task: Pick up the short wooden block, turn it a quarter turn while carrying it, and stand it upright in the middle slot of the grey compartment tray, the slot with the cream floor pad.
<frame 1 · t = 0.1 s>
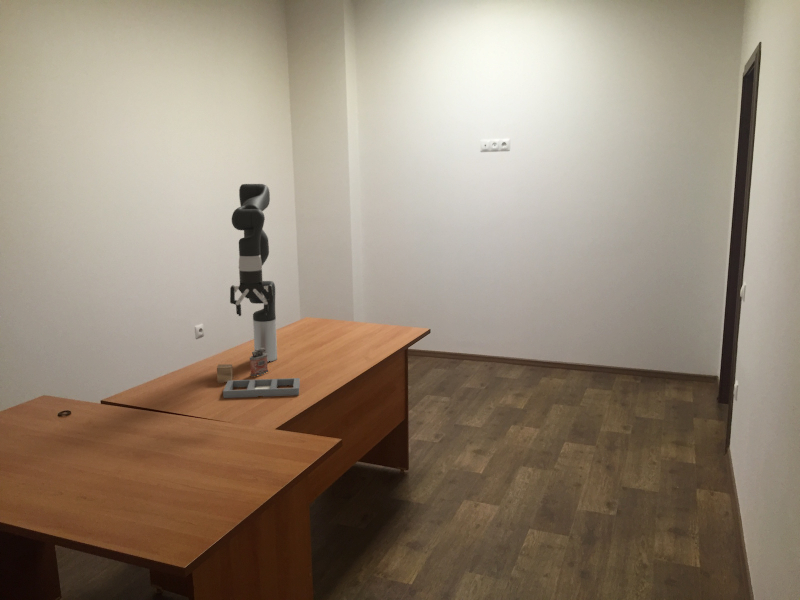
hand: (252, 315, 220), 29 cm above the table, tool pointing down, fingers open, 8 cm apart
lighter: (259, 374, 250), on the table
grey compartment tray: (262, 390, 231), on the table
wooden block: (225, 381, 241), on the table
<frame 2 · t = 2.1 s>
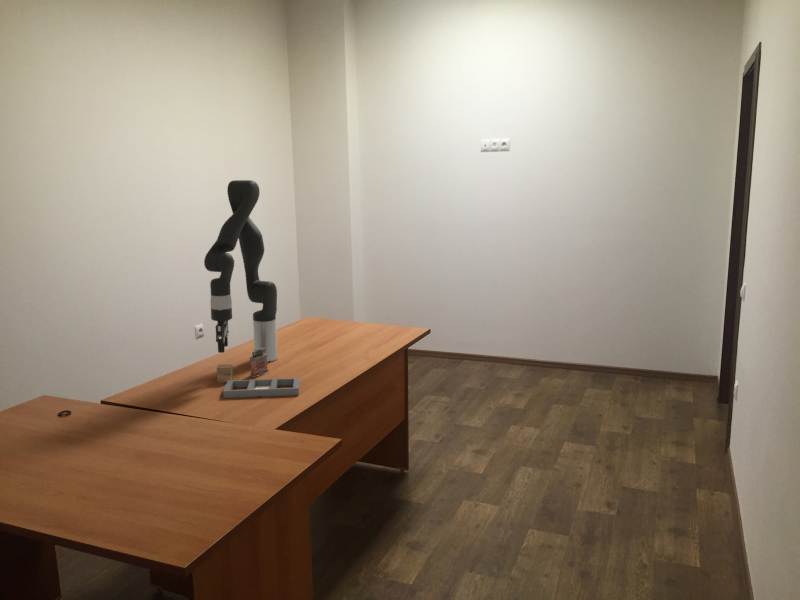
hand: (223, 349, 239), 12 cm above the table, tool pointing down, fingers open, 8 cm apart
nothing on the table moved.
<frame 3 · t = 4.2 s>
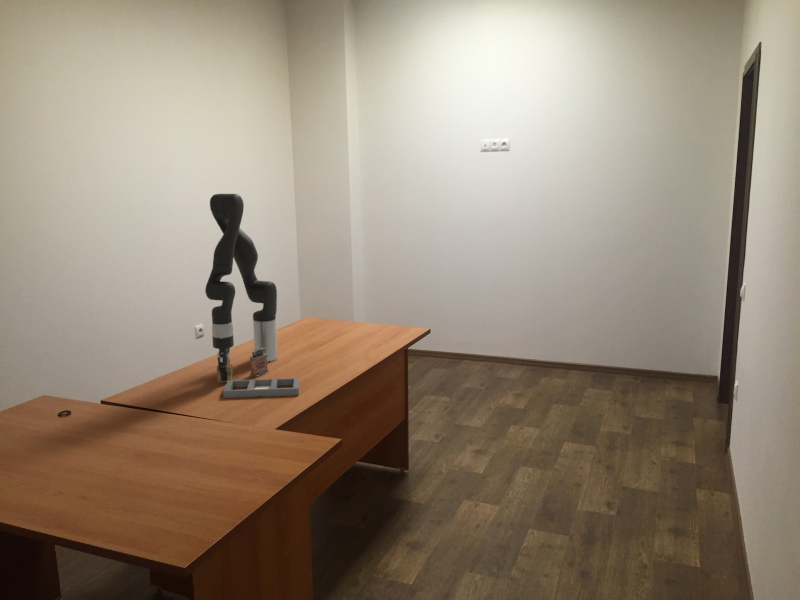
hand: (225, 378, 241), 1 cm above the table, tool pointing down, fingers closed on wooden block, 4 cm apart
wooden block: (225, 381, 241), on the table, touching gripper
everything else where it was.
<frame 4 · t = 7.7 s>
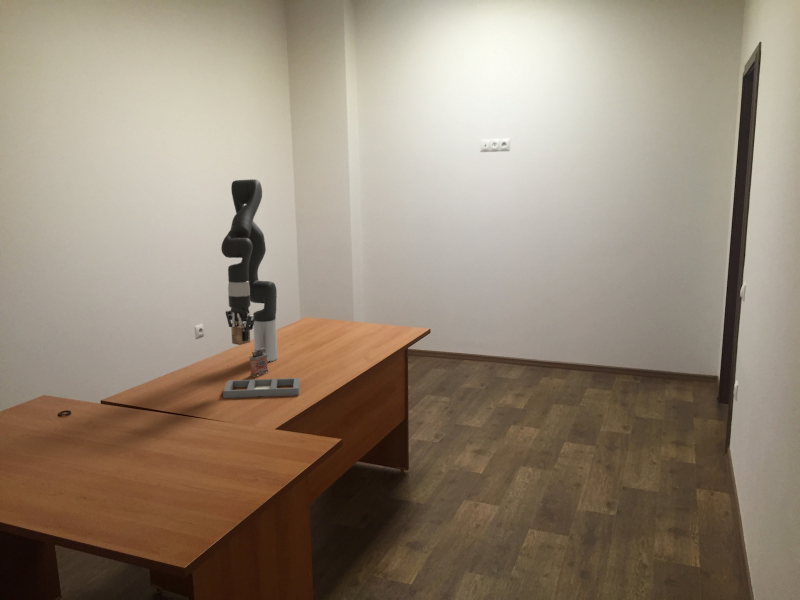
hand: (241, 339, 232), 18 cm above the table, tool pointing down, fingers closed on wooden block, 4 cm apart
wooden block: (241, 342, 232), point 16 cm above the table, touching gripper
everything else where it was.
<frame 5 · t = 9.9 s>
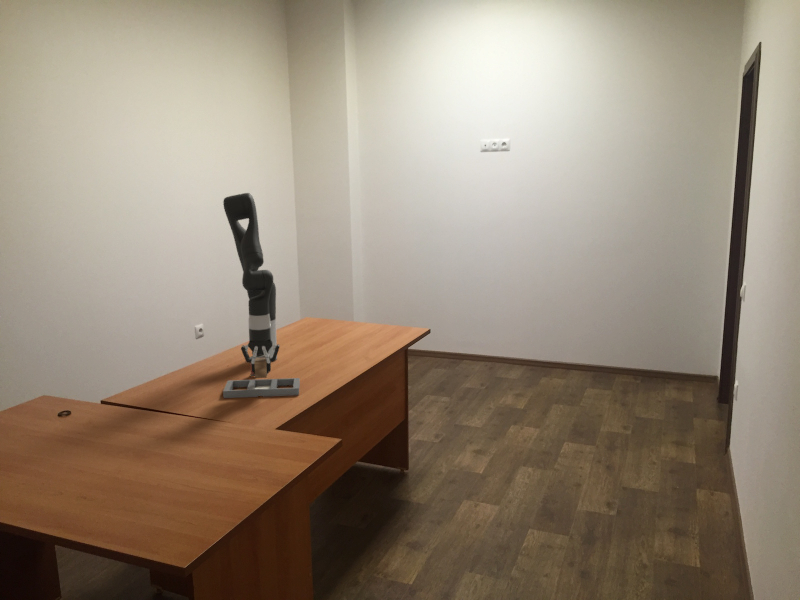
hand: (261, 372, 229), 7 cm above the table, tool pointing down, fingers closed on wooden block, 4 cm apart
wooden block: (261, 375, 229), point 6 cm above the table, touching gripper
everything else where it was.
when the fingers open (3 cm above the table, at t = 11.5 s): wooden block drops 2 cm, resting on grey compartment tray.
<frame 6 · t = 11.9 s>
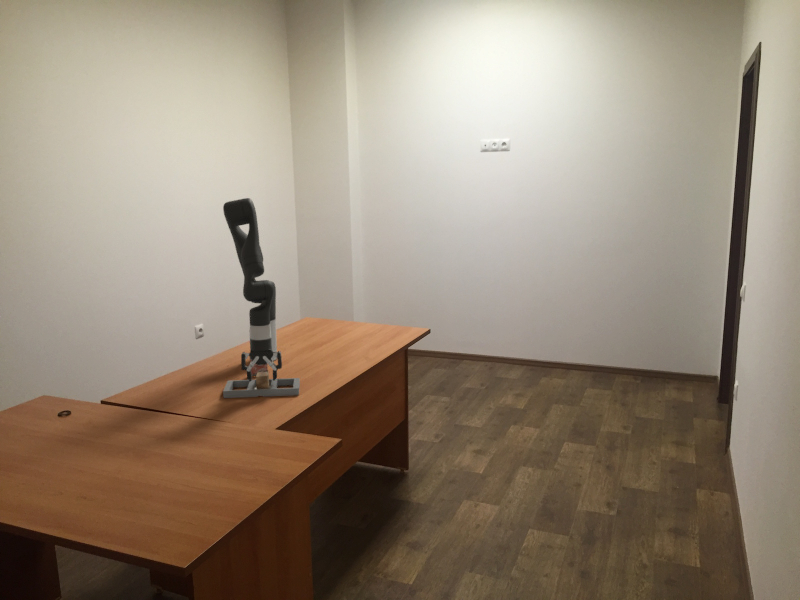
hand: (262, 380, 230), 4 cm above the table, tool pointing down, fingers open, 8 cm apart
wooden block: (263, 390, 230), resting on grey compartment tray
everything else where it was.
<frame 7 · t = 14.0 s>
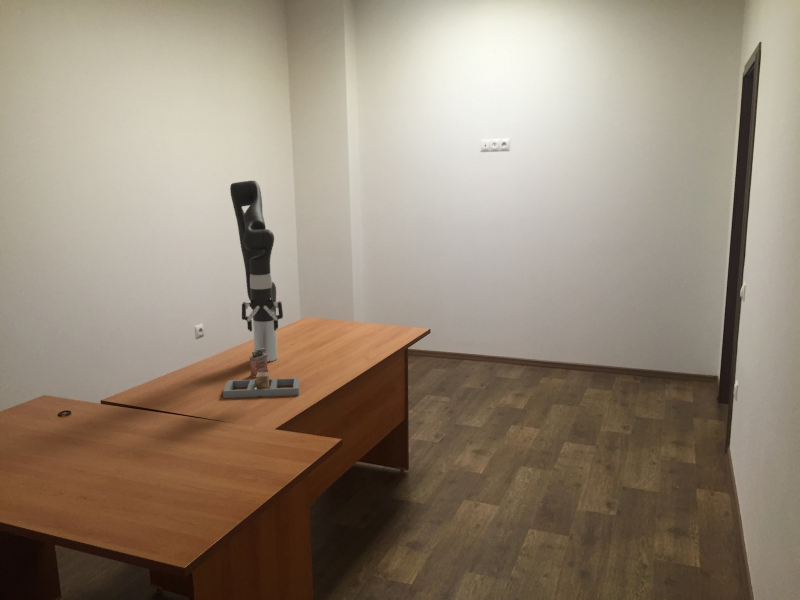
hand: (263, 330, 229), 22 cm above the table, tool pointing down, fingers open, 8 cm apart
nothing on the table moved.
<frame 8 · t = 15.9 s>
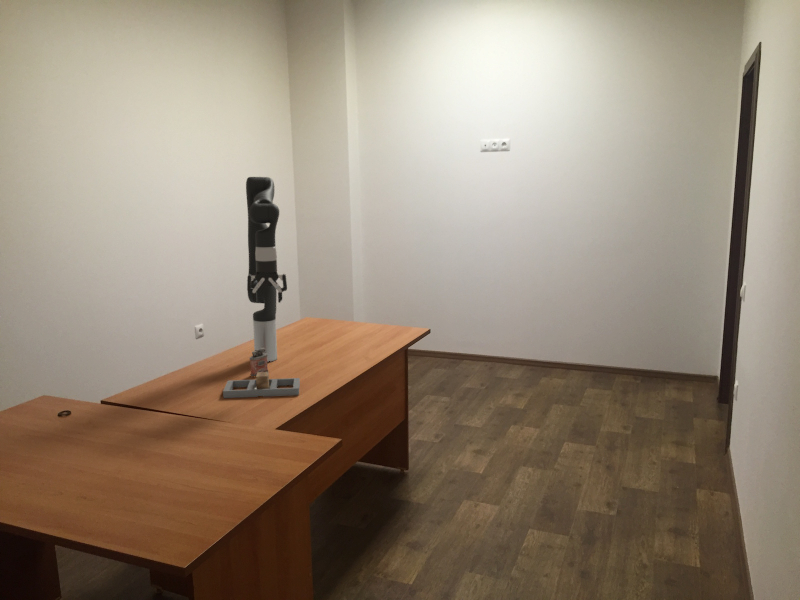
hand: (267, 302, 236), 30 cm above the table, tool pointing down, fingers open, 8 cm apart
nothing on the table moved.
at the end: wooden block 0.1 cm off-centre on the grey compartment tray, point 0.3 cm above the grey compartment tray's base; wooden block tilted 0°; the gripper is holding nothing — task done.
